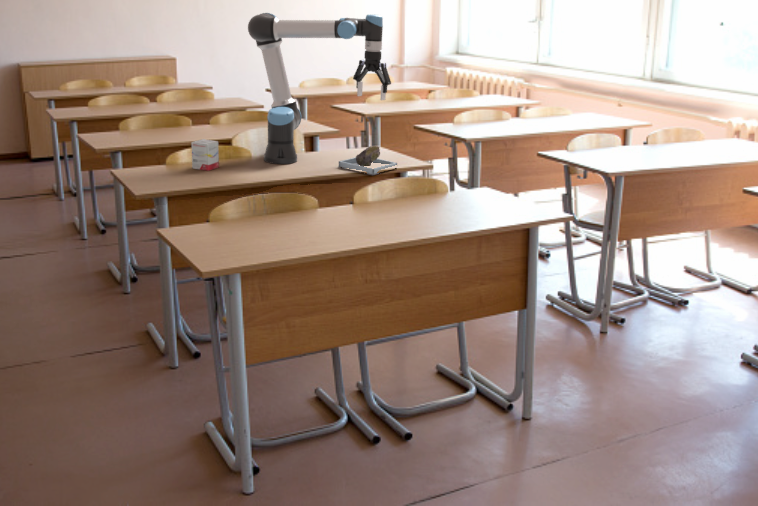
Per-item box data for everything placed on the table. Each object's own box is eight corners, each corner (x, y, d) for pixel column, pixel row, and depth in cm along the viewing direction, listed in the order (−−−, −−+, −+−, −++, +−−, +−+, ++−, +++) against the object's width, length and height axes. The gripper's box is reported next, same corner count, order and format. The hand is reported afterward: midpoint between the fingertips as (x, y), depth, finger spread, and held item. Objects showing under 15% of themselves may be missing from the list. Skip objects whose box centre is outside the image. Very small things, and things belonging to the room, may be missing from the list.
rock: (377, 164, 382) (378, 142, 378) (380, 169, 373) (381, 147, 369) (354, 163, 380) (355, 142, 377) (356, 169, 371) (357, 147, 368)
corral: (338, 167, 375) (338, 161, 375) (363, 161, 389) (363, 155, 388) (372, 175, 364) (372, 169, 363) (396, 168, 377) (397, 162, 377)
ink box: (219, 167, 366) (219, 140, 362) (207, 171, 359) (207, 144, 355) (203, 164, 369) (202, 138, 365) (191, 168, 362) (190, 141, 358)
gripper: (346, 48, 379) (345, 95, 387) (390, 53, 365) (387, 102, 372) (357, 47, 385) (355, 93, 392) (400, 52, 371) (397, 100, 378)
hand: (371, 98), depth 382 cm, fingers open, 13 cm apart
